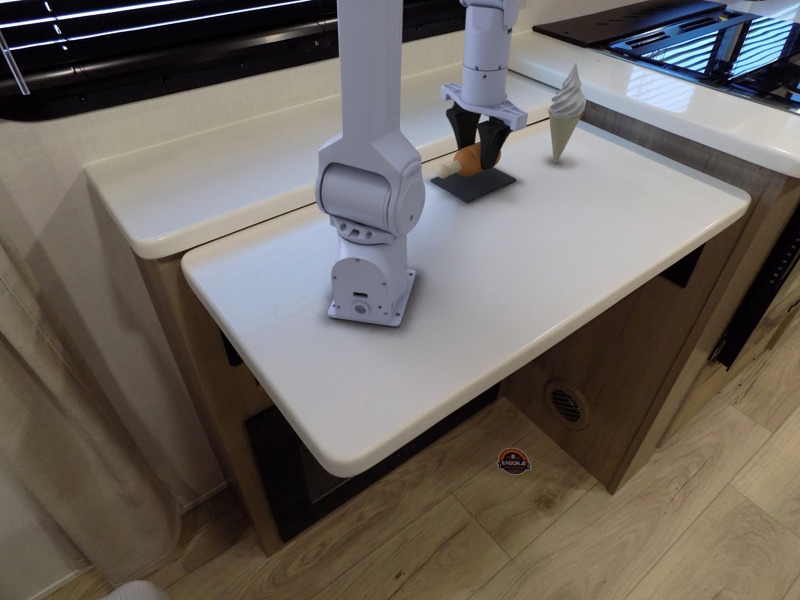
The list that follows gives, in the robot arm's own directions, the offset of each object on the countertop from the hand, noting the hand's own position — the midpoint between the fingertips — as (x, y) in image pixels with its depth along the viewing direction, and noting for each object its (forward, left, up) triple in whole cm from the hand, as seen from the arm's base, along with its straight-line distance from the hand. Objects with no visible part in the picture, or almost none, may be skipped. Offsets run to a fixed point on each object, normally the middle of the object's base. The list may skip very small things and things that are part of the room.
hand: (476, 162), depth 77 cm
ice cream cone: (+9, -12, -3) cm, 15 cm away
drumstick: (-1, +1, -1) cm, 2 cm away
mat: (0, 0, -3) cm, 3 cm away
